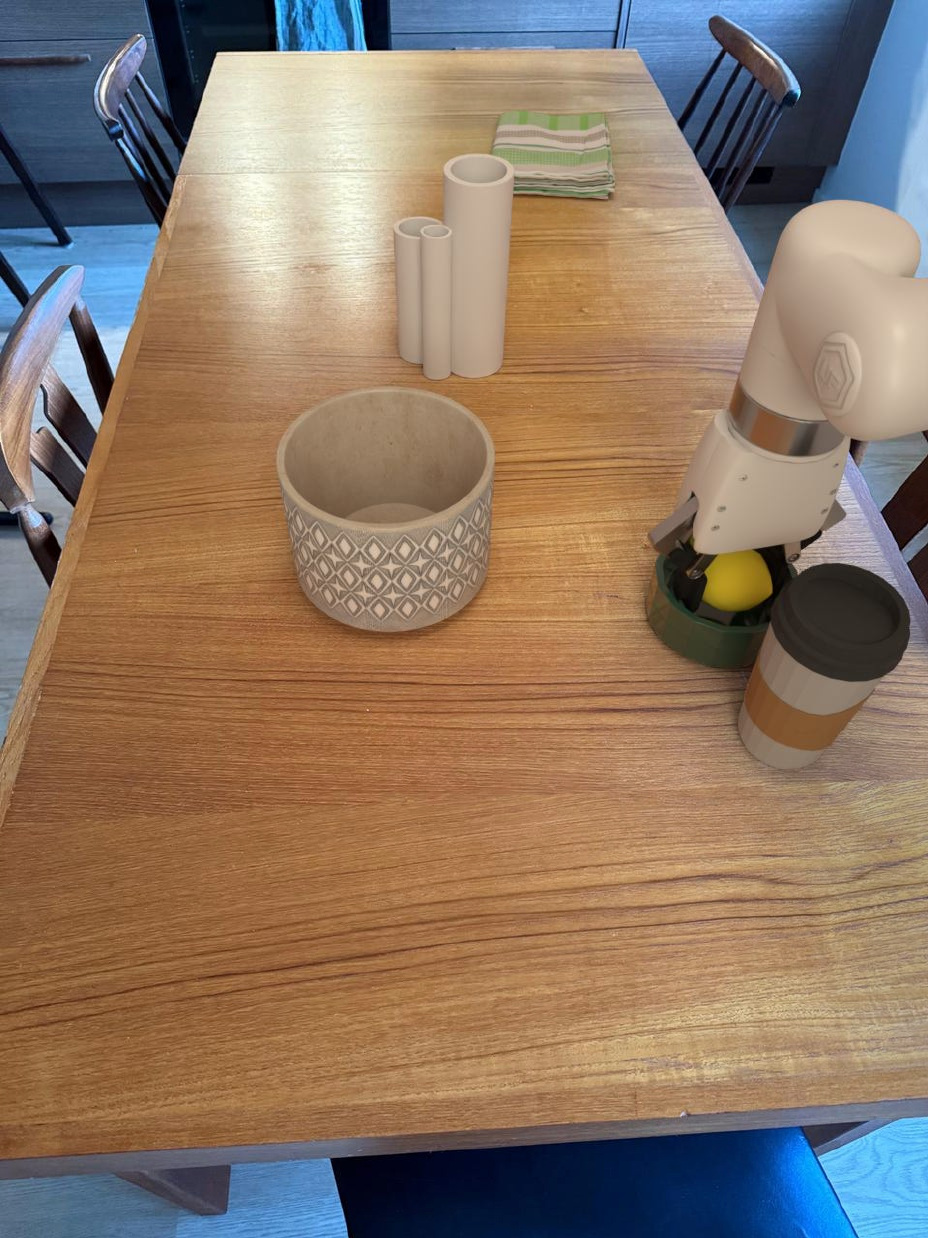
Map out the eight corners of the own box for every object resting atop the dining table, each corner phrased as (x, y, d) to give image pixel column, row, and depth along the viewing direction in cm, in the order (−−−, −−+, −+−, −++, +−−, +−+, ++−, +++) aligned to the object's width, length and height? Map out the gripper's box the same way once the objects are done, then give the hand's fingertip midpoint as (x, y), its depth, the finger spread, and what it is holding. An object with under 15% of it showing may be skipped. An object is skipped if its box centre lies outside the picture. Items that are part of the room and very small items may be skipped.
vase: (502, 342, 99) (513, 153, 83) (503, 381, 94) (515, 190, 78) (400, 339, 98) (392, 150, 83) (395, 378, 94) (386, 186, 78)
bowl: (809, 620, 74) (829, 580, 70) (727, 696, 69) (744, 657, 65) (700, 548, 79) (713, 506, 75) (617, 613, 74) (627, 572, 70)
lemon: (771, 593, 73) (792, 546, 68) (752, 638, 70) (772, 592, 65) (689, 562, 75) (704, 515, 70) (667, 605, 72) (681, 558, 67)
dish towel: (485, 195, 120) (486, 168, 117) (494, 123, 135) (495, 98, 132) (614, 202, 119) (618, 175, 117) (609, 129, 134) (612, 104, 131)
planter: (519, 537, 79) (530, 422, 70) (433, 670, 70) (432, 559, 60) (359, 479, 84) (348, 364, 74) (258, 598, 74) (230, 483, 65)
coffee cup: (768, 671, 71) (832, 537, 59) (858, 741, 67) (946, 613, 55) (699, 728, 67) (752, 598, 55) (790, 806, 63) (868, 683, 52)
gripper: (881, 359, 61) (800, 543, 75) (644, 389, 59) (605, 575, 72) (942, 427, 57) (843, 610, 71) (687, 464, 54) (637, 647, 68)
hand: (723, 591), depth 71 cm, fingers closed on lemon, 5 cm apart
